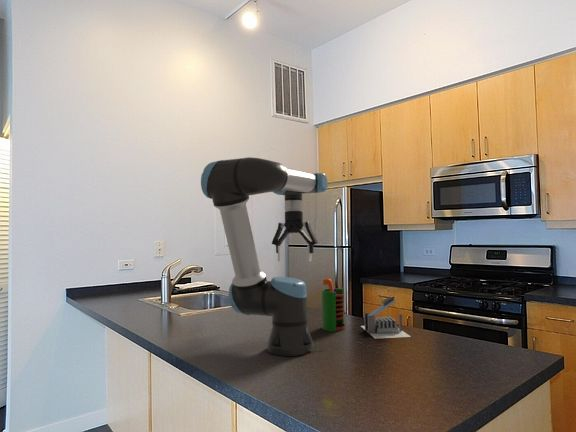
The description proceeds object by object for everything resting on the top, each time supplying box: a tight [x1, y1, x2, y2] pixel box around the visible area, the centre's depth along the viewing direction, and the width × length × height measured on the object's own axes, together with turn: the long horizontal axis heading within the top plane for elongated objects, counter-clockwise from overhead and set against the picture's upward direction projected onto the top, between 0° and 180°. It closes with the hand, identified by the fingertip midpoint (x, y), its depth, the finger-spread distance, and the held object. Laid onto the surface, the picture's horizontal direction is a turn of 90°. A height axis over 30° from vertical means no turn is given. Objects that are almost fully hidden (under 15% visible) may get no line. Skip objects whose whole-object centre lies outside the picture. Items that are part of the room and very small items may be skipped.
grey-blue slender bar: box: [366, 296, 396, 318], centre depth 153 cm, size 3×12×2 cm
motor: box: [321, 278, 346, 333], centre depth 159 cm, size 10×9×20 cm
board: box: [360, 325, 412, 339], centre depth 153 cm, size 19×13×1 cm
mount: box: [363, 312, 403, 335], centre depth 153 cm, size 5×13×6 cm, turn 95°
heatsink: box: [375, 315, 399, 334], centre depth 153 cm, size 8×8×4 cm
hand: (294, 261), depth 172 cm, fingers open, 13 cm apart
